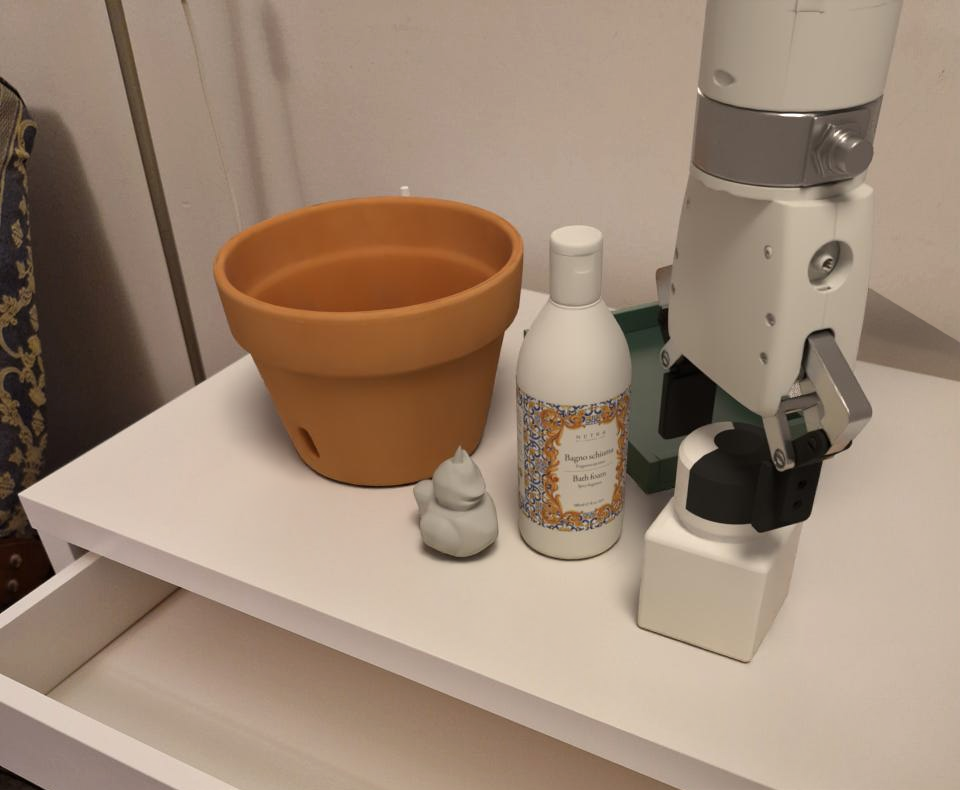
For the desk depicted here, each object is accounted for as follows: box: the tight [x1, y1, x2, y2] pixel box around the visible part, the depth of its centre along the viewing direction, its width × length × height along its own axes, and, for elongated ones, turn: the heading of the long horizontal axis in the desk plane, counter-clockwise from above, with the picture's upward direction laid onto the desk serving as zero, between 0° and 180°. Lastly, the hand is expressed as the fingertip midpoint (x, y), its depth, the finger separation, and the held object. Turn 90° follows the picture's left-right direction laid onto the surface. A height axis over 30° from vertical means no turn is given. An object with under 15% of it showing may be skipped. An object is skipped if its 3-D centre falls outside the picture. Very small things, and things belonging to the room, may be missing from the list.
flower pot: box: [212, 195, 525, 487], centre depth 73 cm, size 21×21×15 cm
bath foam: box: [515, 224, 632, 560], centre depth 61 cm, size 7×7×20 cm
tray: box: [523, 300, 808, 495], centre depth 79 cm, size 14×23×3 cm, turn 21°
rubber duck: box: [412, 446, 500, 558], centre depth 65 cm, size 5×7×8 cm
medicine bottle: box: [637, 422, 804, 663], centre depth 57 cm, size 7×7×12 cm
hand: (729, 475), depth 54 cm, fingers open, 9 cm apart
